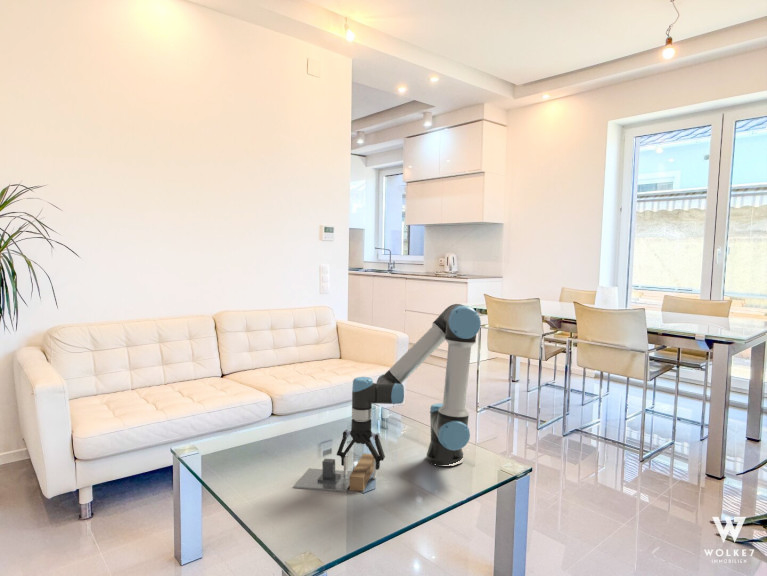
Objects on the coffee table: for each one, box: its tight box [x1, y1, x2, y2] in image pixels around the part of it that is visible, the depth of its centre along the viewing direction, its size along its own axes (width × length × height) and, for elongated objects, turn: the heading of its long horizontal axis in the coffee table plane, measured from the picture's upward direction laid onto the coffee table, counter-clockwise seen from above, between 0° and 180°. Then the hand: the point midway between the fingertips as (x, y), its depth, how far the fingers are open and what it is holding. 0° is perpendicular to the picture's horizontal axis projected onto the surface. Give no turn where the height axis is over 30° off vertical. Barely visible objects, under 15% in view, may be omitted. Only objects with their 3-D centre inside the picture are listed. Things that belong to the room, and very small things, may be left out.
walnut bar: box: [349, 453, 375, 492], centre depth 183 cm, size 22×5×5 cm, turn 169°
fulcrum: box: [292, 458, 353, 493], centre depth 180 cm, size 20×16×8 cm
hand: (360, 475), depth 183 cm, fingers open, 11 cm apart
